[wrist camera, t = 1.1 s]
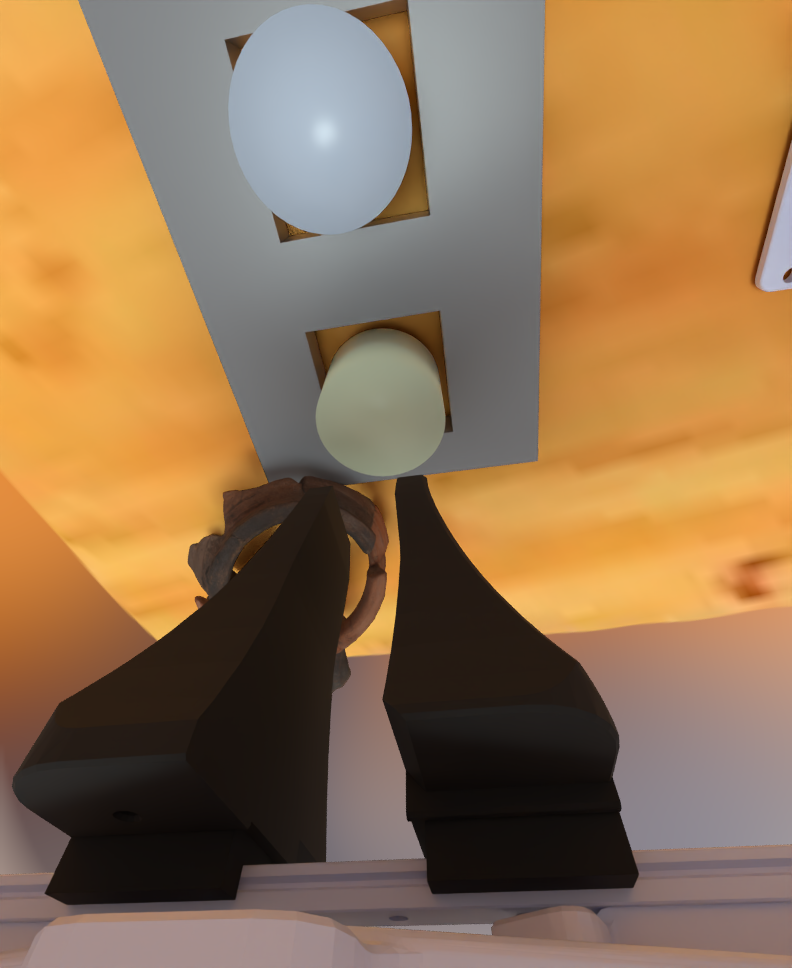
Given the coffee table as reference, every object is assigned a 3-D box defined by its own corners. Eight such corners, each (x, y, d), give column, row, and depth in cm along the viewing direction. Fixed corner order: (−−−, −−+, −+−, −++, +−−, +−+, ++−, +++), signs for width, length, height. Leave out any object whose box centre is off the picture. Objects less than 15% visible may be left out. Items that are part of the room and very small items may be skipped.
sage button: (432, 319, 17) (437, 350, 14) (445, 425, 20) (451, 468, 17) (315, 338, 17) (299, 371, 15) (342, 439, 20) (333, 483, 17)
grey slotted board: (536, -940, 7) (562, -1159, 6) (530, 443, 22) (537, 461, 20) (-139, -648, 8) (-230, -779, 7) (279, 475, 23) (273, 493, 22)
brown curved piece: (162, 498, 24) (129, 553, 17) (326, 423, 26) (365, 440, 19) (267, 671, 28) (280, 779, 21) (404, 594, 30) (462, 667, 22)
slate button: (397, 16, 12) (396, -19, 10) (419, 206, 15) (422, 218, 12) (239, 52, 13) (198, 29, 10) (287, 230, 15) (263, 248, 13)
